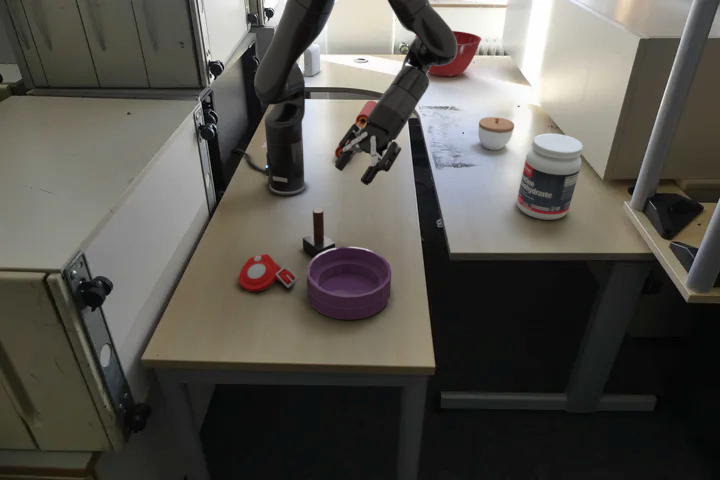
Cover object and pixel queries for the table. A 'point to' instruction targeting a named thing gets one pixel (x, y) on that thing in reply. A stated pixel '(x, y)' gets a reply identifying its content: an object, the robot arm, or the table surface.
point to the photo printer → (312, 60)
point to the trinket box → (495, 132)
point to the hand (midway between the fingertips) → (350, 176)
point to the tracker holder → (264, 274)
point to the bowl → (348, 282)
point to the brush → (317, 236)
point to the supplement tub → (550, 176)
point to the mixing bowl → (459, 55)
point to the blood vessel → (360, 121)
